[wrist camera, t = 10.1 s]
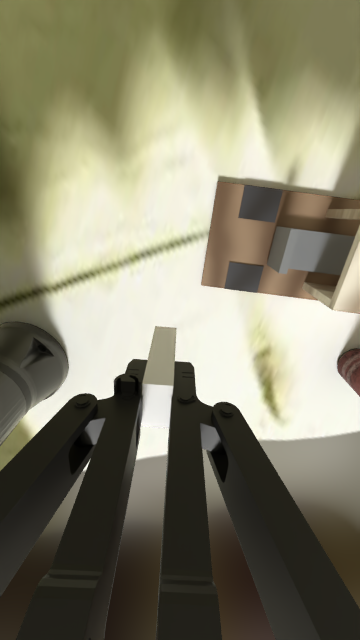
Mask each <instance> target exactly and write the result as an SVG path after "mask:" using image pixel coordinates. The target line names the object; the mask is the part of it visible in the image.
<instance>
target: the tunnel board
mask: <svg viewBox="0 0 360 640" xmlns="http://www.w3.org/2000/svg"><path fill="white" fill-rule="evenodd" d="M277 226H278V227H286V228H294V229H301V230H309V231H316V232H324V233H331V234H339V235H346V236H354V237H355V239H354V241H353V244H352V247H351V249H350V252H349V255H348V257H347V260H346V262H345V265H344V268H343V270H342V273H341V275H334V274H326V273H319V272H311V271H303V270H296V269H288V271H287V274H281V273H278V272H276V271H275V270H274V269H272V268H271V267H269V266H268V265H267V262H268V258H269V254H270V250H271V246H272V242H273V239H274V235H275V231H276V227H277ZM201 285H202V286H210V287H218V288H224V289H231V290H239V291H247V292H254V293H264V294H272V295H280V296H288V297H295V298H303V299H311V300H319V301H320V302H322V303H323V304H325V305H326V306H327V307H329V308H330V309H332V310H334V311H342V312H350V313H357V314H360V200H353V199H346V198H338V197H331V196H323V195H316V194H308V193H301V192H293V191H286V190H280V189H272V188H265V187H257V186H250V185H241V184H234V183H226V182H219V181H218V183H217V189H216V195H215V201H214V208H213V214H212V220H211V227H210V233H209V239H208V245H207V252H206V258H205V264H204V270H203V277H202V283H201Z"/></svg>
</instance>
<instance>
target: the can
mask: <svg viewBox="0 0 360 640" xmlns="http://www.w3.org/2000/svg"><path fill="white" fill-rule="evenodd" d="M337 369H338V372H339V374H340V375H341V376H342V377H343V378H344V380H345V381H346V382H347V383H348V384H349V385H350V386H351V387H352V388H353V390H354V391H355V392H356V393H357V394H358V395H359V396H360V349H353V350H349V351H348V352H346V353H344V354H343V355H342V356H341V357H340V359H339V361H338V366H337Z"/></svg>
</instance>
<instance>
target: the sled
mask: <svg viewBox="0 0 360 640" xmlns="http://www.w3.org/2000/svg"><path fill="white" fill-rule="evenodd" d="M354 239H355V237H354V236H346V235H339V234H331V233H324V232H316V231H309V230H301V229H294V228H286V227H278V226H277V227H276V231H275V235H274V239H273V242H272V246H271V250H270V254H269V258H268V262H267V265H268V266H269V267H271V268H272V269H274V270H275V271H276V272H278V273H281V274H287V271H288V269H296V270H303V271H311V272H319V273H326V274H334V275H341V273H342V270H343V268H344V265H345V262H346V260H347V257H348V255H349V252H350V249H351V247H352V244H353V241H354Z"/></svg>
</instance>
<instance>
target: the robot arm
mask: <svg viewBox="0 0 360 640" xmlns="http://www.w3.org/2000/svg"><path fill="white" fill-rule="evenodd" d="M175 344H176V328H171V327H157V326H155V331H154V335H153V339H152V344H151V348H150V352H149V357H148V360H140V359H133V360H132V361H131V362H130V363H129V364H128V366H127V370H126V372H125V374H122V375H119V376H118V377H116V378H115V380H114V396H112V397H110V398H107V399H102V400H97V398H96V397H95V396H94V395H92V394H86V393H85V394H79V395H77V396H74V397H73V398H72V399H70V400H69V401H68V402H67V403H66V404H65V405H64V406H63V407H62V408H61V409H60V410H59V412H58V413H57V414H56V415H55V416H54V417H53V418H52V419H51V420H50V421H49V422H48V423H47V424H46V425H45V426H44V427H43V428H42V429H41V430H40V431H39V432H38V433H37V434H36V435H35V436H34V437H33V438H32V439H31V440H30V441H29V442H28V443H27V444H26V445H25V446H24V447H23V449H22V450H21V451H20V452H19V453H18V454H17V455H16V456H15V457H14V458H13V459H12V460H11V461H10V462H9V463H8V464H7V465H6V466H5V467H4V468H3V469H2V470H1V471H0V597H1V595H2V593H3V592H4V590H5V589H6V587H7V586H8V584H9V583H10V581H11V580H12V578H13V577H14V575H15V574H16V572H17V570H18V569H19V567H20V566H21V564H22V563H23V561H24V560H25V558H26V557H27V555H28V553H29V552H30V551H31V549H32V547H33V546H34V544H35V543H36V541H37V540H38V538H39V537H40V535H41V534H42V532H43V531H44V529H45V528H46V526H47V524H48V523H49V521H50V520H51V518H52V517H53V515H54V514H55V512H56V511H57V509H58V508H59V506H60V504H61V503H62V501H63V500H64V498H65V497H66V495H67V494H68V492H69V491H70V489H71V488H72V486H73V485H74V483H75V482H76V480H77V478H78V477H79V475H80V474H81V472H82V471H83V469H84V468H85V466H86V465H87V463H88V462H89V460H90V462H89V465H88V468H87V470H86V473H85V476H84V478H83V481H82V484H81V487H80V490H79V492H78V495H77V498H76V501H75V504H74V506H73V509H72V511H71V514H70V517H69V520H68V522H67V525H66V528H65V530H64V534H63V536H62V539H61V541H60V544H59V547H58V550H57V552H56V555H55V558H54V561H53V563H52V566H51V568H50V570H49V572H48V574H46V575H45V576H44V577H43V578H42V579H41V581H40V582H39V584H38V585H37V588H36V590H35V592H34V594H33V597H32V599H31V602H30V604H29V607H28V610H27V612H26V615H25V617H24V620H23V623H22V625H21V628H20V630H19V633H18V636H17V638H16V640H104V635H105V625H106V619H107V612H108V606H109V602H110V596H111V591H112V585H113V579H114V575H115V569H116V563H117V558H118V552H119V547H120V542H121V536H122V531H123V525H124V520H125V515H126V509H127V504H128V498H129V493H130V487H131V481H132V477H133V471H134V466H135V460H136V455H137V449H138V444H139V439H140V427H156V428H169V438H168V455H167V471H166V486H165V503H164V518H163V534H162V550H161V565H160V581H159V597H158V613H157V627H156V640H222V635H221V624H220V613H219V603H218V595H217V589H216V586H215V584H214V582H213V576H212V566H211V554H210V541H209V528H208V517H207V504H206V492H205V480H204V467H203V454H202V448H203V449H206V450H207V455H208V458H209V460H210V463H211V466H212V468H213V471H214V474H215V477H216V479H217V482H218V484H219V487H220V490H221V493H222V495H223V498H224V501H225V504H226V506H227V509H228V512H229V514H230V517H231V520H232V522H233V525H234V528H235V531H236V533H237V536H238V539H239V542H240V544H241V547H242V550H243V552H244V555H245V558H246V560H247V563H248V566H249V569H250V571H251V574H252V577H253V579H254V582H255V585H256V587H257V590H258V593H259V596H260V598H261V601H262V604H263V606H264V609H265V612H266V615H267V617H268V620H269V623H270V625H271V628H272V631H273V634H274V636H275V639H276V640H360V609H359V607H358V605H357V604H356V602H355V601H354V599H353V597H352V596H351V594H350V592H349V590H348V589H347V587H346V586H345V584H344V582H343V581H342V579H341V577H340V576H339V574H338V572H337V571H336V569H335V567H334V566H333V564H332V562H331V561H330V559H329V557H328V556H327V554H326V553H325V551H324V549H323V548H322V546H321V544H320V543H319V541H318V539H317V538H316V536H315V534H314V533H313V531H312V529H311V528H310V526H309V524H308V523H307V521H306V520H305V518H304V516H303V514H302V513H301V511H300V510H299V508H298V506H297V505H296V503H295V501H294V500H293V498H292V496H291V495H290V493H289V492H288V490H287V488H286V486H285V485H284V483H283V481H282V480H281V478H280V477H279V475H278V473H277V472H276V470H275V468H274V467H273V465H272V463H271V462H270V460H269V459H268V457H267V455H266V453H265V452H264V450H263V449H262V447H261V445H260V443H259V442H258V440H257V439H256V437H255V435H254V434H253V432H252V430H251V429H250V427H249V425H248V424H247V422H246V420H245V419H244V417H243V415H242V414H241V412H240V410H239V409H238V408H237V407H236V406H235V405H233V404H231V403H228V402H219V403H217V404H215V405H214V407H212V406H209V405H206V404H204V403H202V402H201V401H200V400H199V399H198V398H197V396H196V387H195V374H194V367H193V365H192V364H191V363H190V362H176V361H175ZM67 374H68V361H67V357H66V355H65V352H64V351H63V349H62V347H61V346H60V344H59V343H58V342H57V341H56V340H55V339H54V338H53V337H52V336H51V335H49V334H48V333H47V332H45V331H44V330H42V329H40V328H38V327H36V326H33V325H30V324H27V323H21V322H9V323H4V324H1V325H0V446H1V445H2V443H3V442H4V441H5V439H6V438H7V437H8V436H9V434H10V433H11V432H12V430H13V429H14V428H15V427H16V425H17V424H18V423H19V421H20V420H21V419H22V418H23V416H24V415H25V414H26V413H27V412H28V410H29V409H31V408H32V407H34V406H35V405H37V404H38V403H39V402H41V401H42V400H45V399H47V398H49V397H50V396H52V395H53V394H54V393H55V392H56V391H57V390H58V389H59V388H60V386H61V385H62V384H63V382H64V381H65V379H66V377H67Z"/></svg>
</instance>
